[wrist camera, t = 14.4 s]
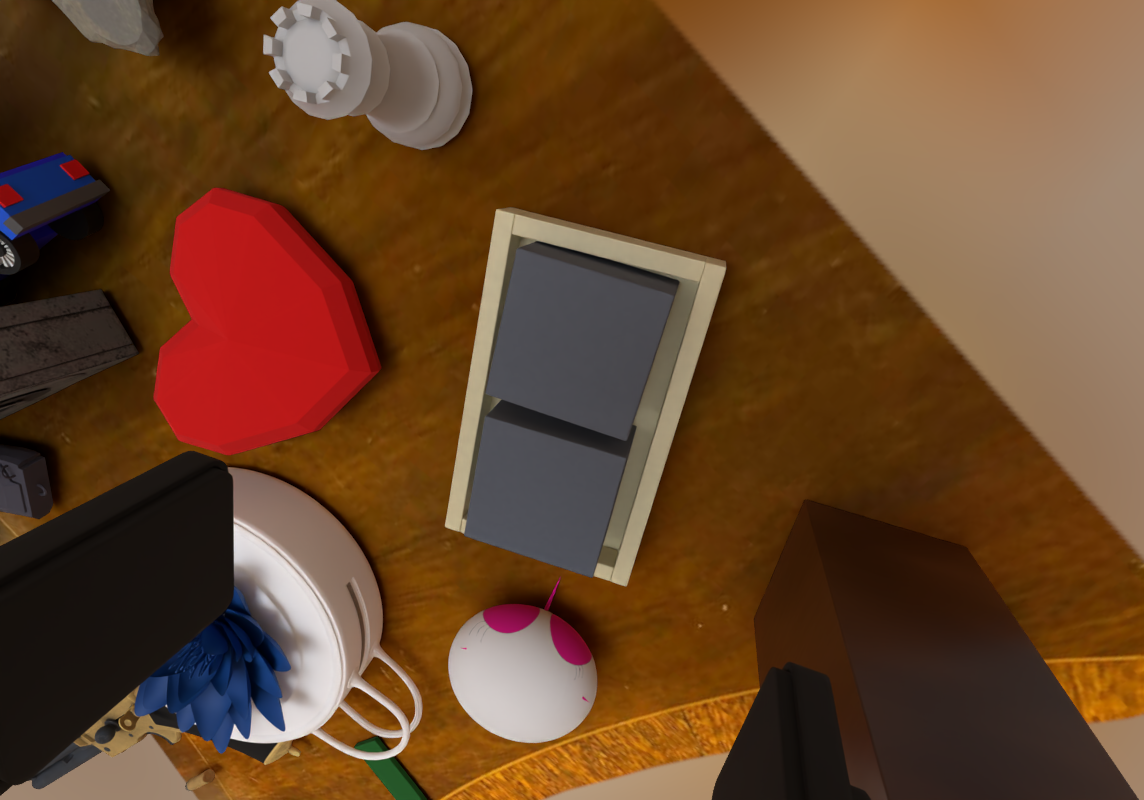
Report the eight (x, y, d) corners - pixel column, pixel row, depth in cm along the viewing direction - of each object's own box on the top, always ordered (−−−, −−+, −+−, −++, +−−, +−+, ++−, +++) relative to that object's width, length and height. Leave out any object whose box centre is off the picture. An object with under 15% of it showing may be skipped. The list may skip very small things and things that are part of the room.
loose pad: (680, 280, 25) (674, 295, 21) (637, 411, 27) (626, 442, 24) (541, 238, 25) (516, 247, 22) (511, 369, 28) (484, 394, 24)
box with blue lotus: (-1, 650, 32) (292, 880, 33) (90, 465, 26) (445, 754, 27) (117, 573, 38) (359, 768, 40) (212, 409, 32) (496, 646, 34)
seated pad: (637, 425, 27) (626, 458, 24) (606, 534, 29) (592, 578, 26) (511, 388, 28) (484, 415, 25) (490, 498, 30) (463, 536, 27)
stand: (967, 546, 26) (1402, 1183, 10) (899, 666, 29) (1148, 1325, 12) (804, 498, 27) (945, 1004, 10) (753, 619, 30) (801, 1173, 13)
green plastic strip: (380, 731, 39) (360, 738, 40) (374, 740, 38) (354, 747, 39) (436, 803, 40) (415, 808, 40) (431, 812, 39) (410, 817, 40)
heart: (422, 244, 29) (220, 184, 29) (389, 240, 24) (153, 170, 24) (371, 473, 31) (187, 418, 31) (333, 504, 27) (121, 441, 27)
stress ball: (620, 595, 35) (637, 611, 28) (567, 736, 33) (572, 788, 27) (499, 543, 35) (488, 548, 29) (440, 681, 33) (415, 720, 27)
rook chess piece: (357, 57, 25) (206, 5, 17) (450, 7, 23) (329, -72, 16) (402, 166, 26) (278, 162, 19) (493, 125, 24) (398, 101, 17)
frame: (726, 261, 24) (726, 267, 23) (631, 563, 30) (626, 587, 28) (510, 207, 25) (495, 209, 24) (459, 508, 31) (444, 527, 29)
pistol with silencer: (144, 812, 50) (30, 739, 47) (327, 720, 41) (198, 621, 38) (102, 871, 47) (-24, 796, 44) (292, 786, 37) (146, 681, 34)
